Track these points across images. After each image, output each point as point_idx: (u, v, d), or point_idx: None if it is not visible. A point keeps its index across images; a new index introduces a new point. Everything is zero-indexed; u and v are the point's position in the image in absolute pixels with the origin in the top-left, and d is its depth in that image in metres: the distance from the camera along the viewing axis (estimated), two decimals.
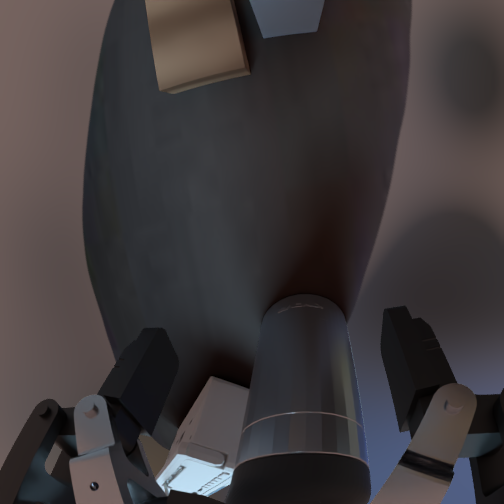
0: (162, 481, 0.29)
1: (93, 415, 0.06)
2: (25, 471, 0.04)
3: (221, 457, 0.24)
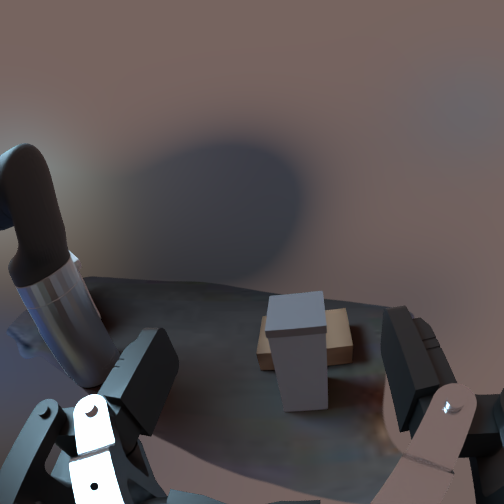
0: None
1: (93, 415, 0.06)
2: (25, 471, 0.04)
3: None
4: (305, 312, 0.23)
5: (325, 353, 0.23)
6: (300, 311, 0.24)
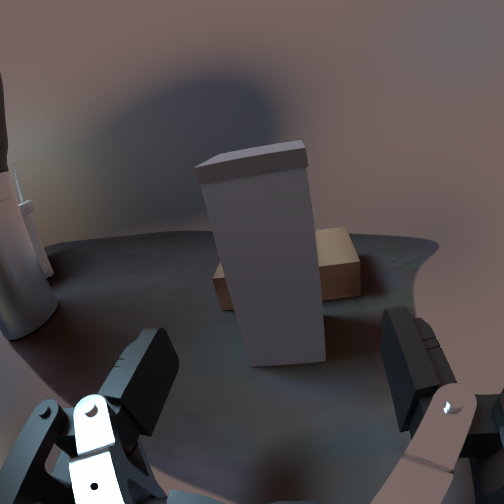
0: None
1: (93, 415, 0.06)
2: (25, 471, 0.04)
3: None
4: (269, 149, 0.13)
5: (311, 220, 0.13)
6: (262, 150, 0.14)
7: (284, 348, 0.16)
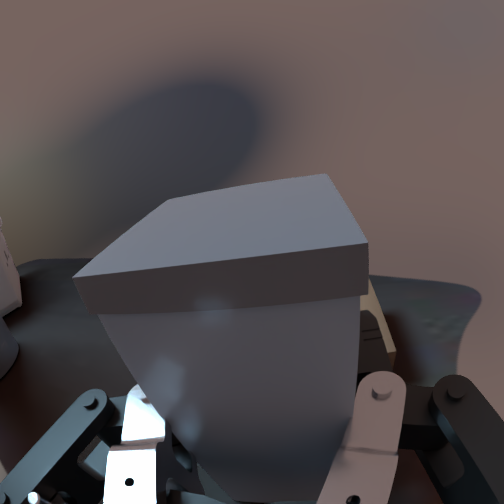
0: None
1: None
2: (54, 462, 0.05)
3: None
4: (260, 212, 0.06)
5: (350, 393, 0.05)
6: (241, 212, 0.06)
7: (281, 495, 0.08)
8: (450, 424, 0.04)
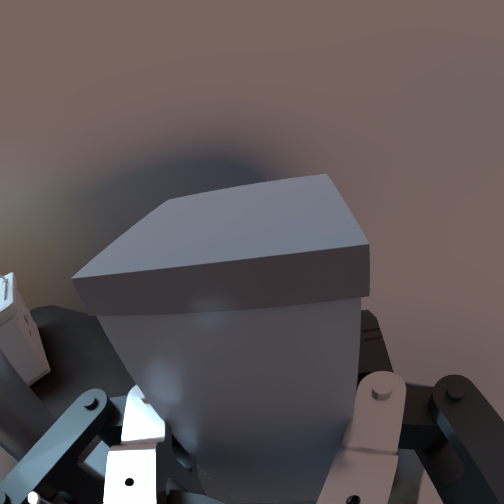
0: (9, 280, 0.38)
1: None
2: (54, 462, 0.05)
3: None
4: (260, 213, 0.06)
5: (350, 394, 0.05)
6: (241, 213, 0.06)
7: (280, 496, 0.08)
8: (450, 424, 0.04)
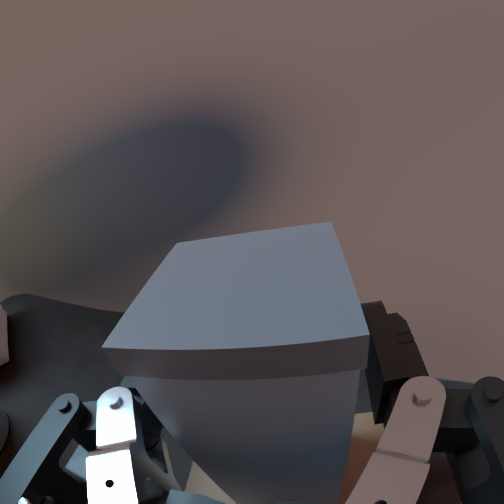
0: None
1: (118, 407, 0.07)
2: (37, 466, 0.04)
3: None
4: (272, 281, 0.06)
5: (348, 429, 0.06)
6: (254, 278, 0.06)
7: None
8: (484, 425, 0.04)
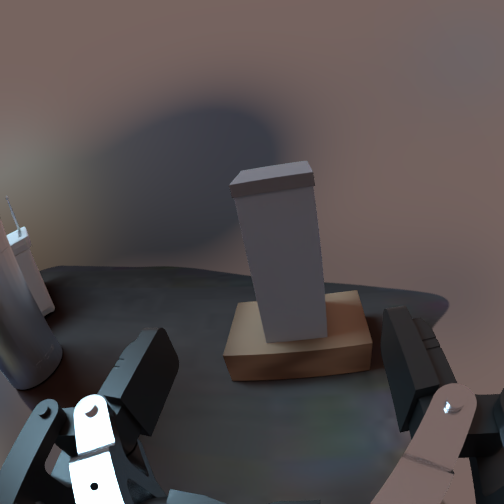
0: (22, 229, 0.42)
1: (93, 415, 0.06)
2: (25, 471, 0.04)
3: None
4: (284, 170, 0.18)
5: (316, 225, 0.17)
6: (278, 170, 0.18)
7: (294, 326, 0.20)
8: None
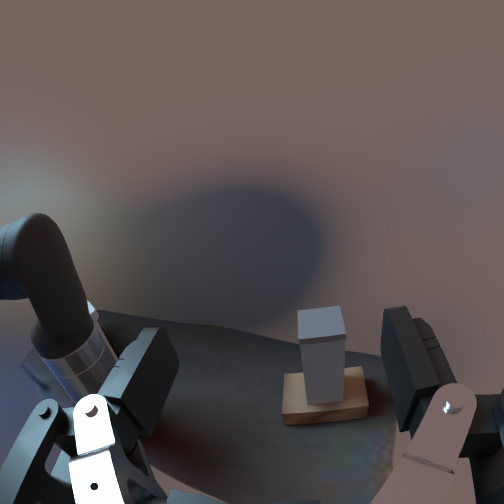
0: None
1: (93, 415, 0.06)
2: (25, 471, 0.04)
3: None
4: (328, 323, 0.29)
5: (343, 355, 0.29)
6: (324, 323, 0.29)
7: (324, 397, 0.32)
8: None
